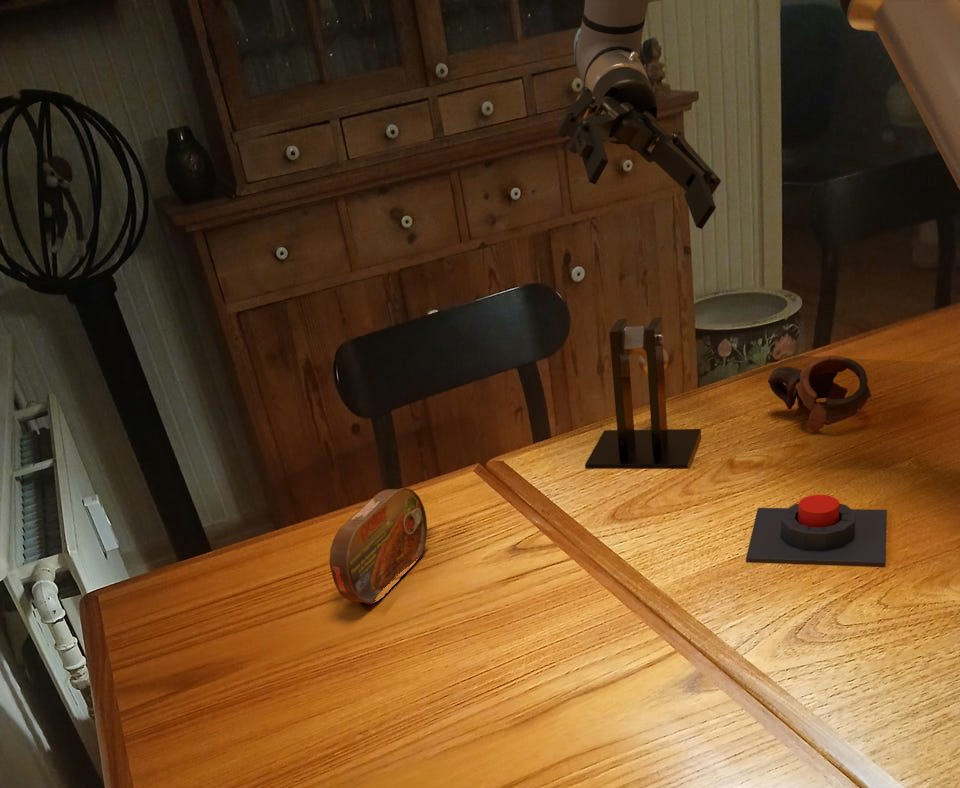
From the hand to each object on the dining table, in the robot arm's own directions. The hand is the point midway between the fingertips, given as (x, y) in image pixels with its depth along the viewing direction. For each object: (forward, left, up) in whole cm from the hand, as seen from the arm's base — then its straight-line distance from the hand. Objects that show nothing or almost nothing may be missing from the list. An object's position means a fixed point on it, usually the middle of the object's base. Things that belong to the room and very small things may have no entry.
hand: (653, 195), depth 105 cm
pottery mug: (-17, -7, -28) cm, 34 cm away
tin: (+23, +34, -28) cm, 50 cm away
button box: (-19, +26, -28) cm, 43 cm away
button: (-19, +26, -25) cm, 40 cm away
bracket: (+2, +4, -28) cm, 29 cm away
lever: (+2, 0, -19) cm, 19 cm away
